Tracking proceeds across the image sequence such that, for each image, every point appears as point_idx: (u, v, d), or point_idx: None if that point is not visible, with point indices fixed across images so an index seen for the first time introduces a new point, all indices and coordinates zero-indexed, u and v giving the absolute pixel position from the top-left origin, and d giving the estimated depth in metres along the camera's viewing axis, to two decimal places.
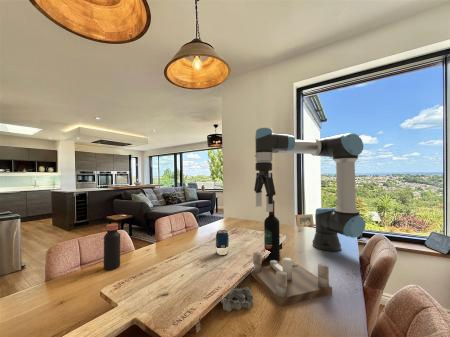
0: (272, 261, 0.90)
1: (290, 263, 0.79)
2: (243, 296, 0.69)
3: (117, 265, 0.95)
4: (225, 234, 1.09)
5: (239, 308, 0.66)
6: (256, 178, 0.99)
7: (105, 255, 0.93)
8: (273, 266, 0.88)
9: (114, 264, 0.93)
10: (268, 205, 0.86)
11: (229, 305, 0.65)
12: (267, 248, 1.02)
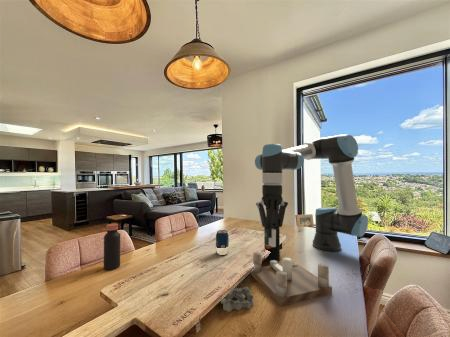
0: (272, 261, 0.90)
1: (290, 263, 0.79)
2: (243, 296, 0.69)
3: (117, 265, 0.95)
4: (225, 234, 1.09)
5: (239, 308, 0.66)
6: None
7: (105, 255, 0.93)
8: (273, 266, 0.88)
9: (114, 264, 0.93)
10: (269, 238, 0.79)
11: (229, 305, 0.65)
12: (267, 248, 1.02)
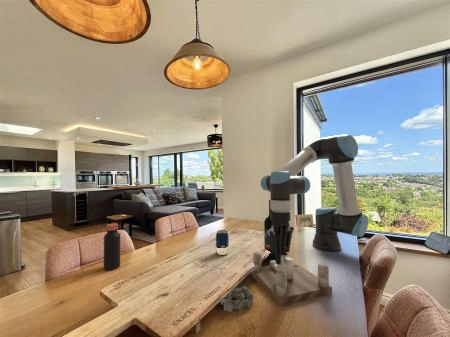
0: (272, 261, 0.90)
1: (291, 263, 0.79)
2: (243, 296, 0.69)
3: (117, 265, 0.95)
4: (225, 234, 1.09)
5: (240, 307, 0.66)
6: None
7: (105, 255, 0.93)
8: (273, 266, 0.88)
9: (114, 264, 0.93)
10: (277, 264, 0.79)
11: (231, 305, 0.65)
12: (267, 248, 1.02)
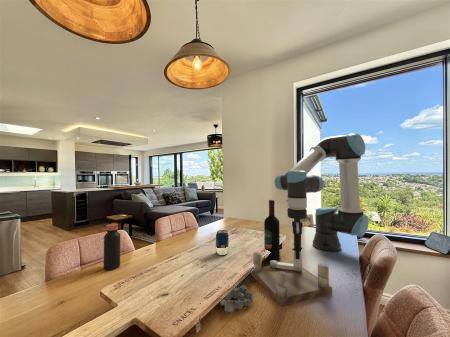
0: (272, 262, 0.89)
1: None
2: (242, 295, 0.70)
3: (117, 265, 0.95)
4: (225, 234, 1.09)
5: (241, 307, 0.66)
6: None
7: (105, 255, 0.93)
8: (277, 266, 0.88)
9: (114, 264, 0.93)
10: (295, 259, 0.83)
11: (232, 306, 0.65)
12: (267, 248, 1.02)
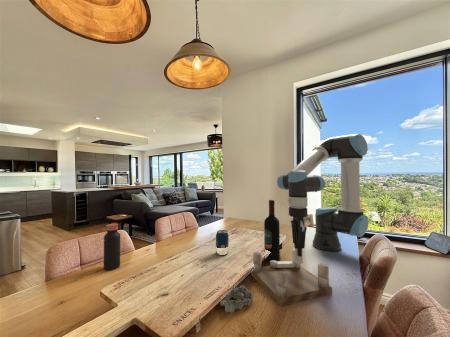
0: (273, 262, 0.89)
1: None
2: (242, 295, 0.70)
3: (117, 265, 0.95)
4: (225, 234, 1.09)
5: (241, 307, 0.66)
6: (292, 226, 0.91)
7: (105, 255, 0.93)
8: (278, 265, 0.89)
9: (114, 264, 0.93)
10: (297, 257, 0.86)
11: (233, 306, 0.65)
12: (267, 248, 1.02)
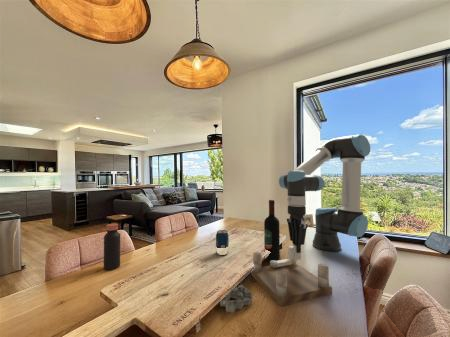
0: (273, 262, 0.89)
1: None
2: (242, 294, 0.70)
3: (117, 265, 0.95)
4: (225, 234, 1.09)
5: (242, 306, 0.66)
6: (288, 224, 0.94)
7: (105, 255, 0.93)
8: (278, 264, 0.89)
9: (114, 264, 0.93)
10: (296, 253, 0.89)
11: (233, 306, 0.65)
12: (267, 248, 1.02)
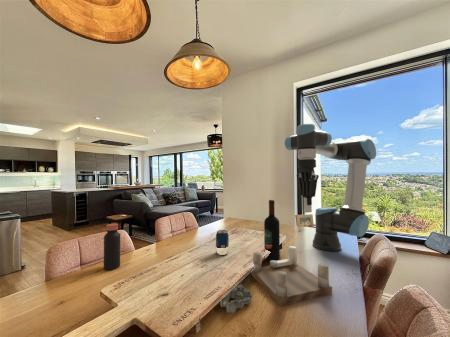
0: (273, 262, 0.89)
1: None
2: (241, 294, 0.70)
3: (117, 265, 0.95)
4: (225, 234, 1.09)
5: (242, 306, 0.67)
6: (298, 180, 0.95)
7: (105, 255, 0.93)
8: (278, 264, 0.89)
9: (114, 264, 0.93)
10: (307, 206, 0.90)
11: (234, 306, 0.65)
12: (267, 248, 1.02)
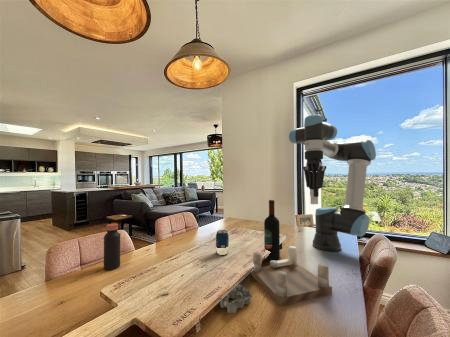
0: (273, 262, 0.89)
1: None
2: (241, 294, 0.70)
3: (117, 265, 0.95)
4: (225, 234, 1.09)
5: (242, 306, 0.67)
6: (305, 172, 0.94)
7: (105, 255, 0.93)
8: (278, 264, 0.89)
9: (114, 264, 0.93)
10: (314, 198, 0.89)
11: (235, 306, 0.65)
12: (267, 248, 1.02)
